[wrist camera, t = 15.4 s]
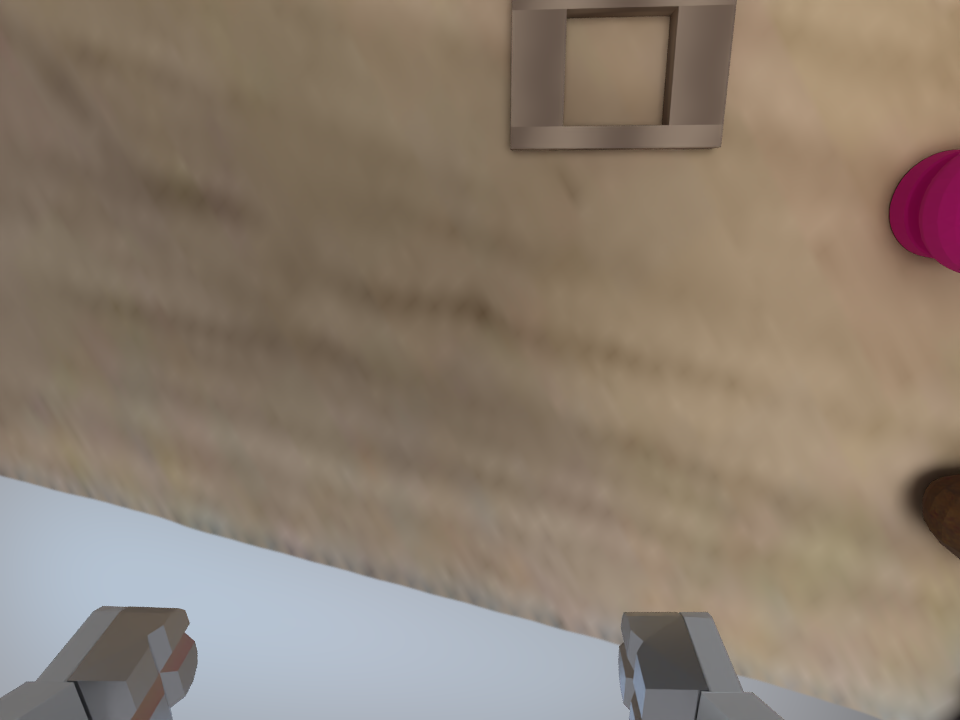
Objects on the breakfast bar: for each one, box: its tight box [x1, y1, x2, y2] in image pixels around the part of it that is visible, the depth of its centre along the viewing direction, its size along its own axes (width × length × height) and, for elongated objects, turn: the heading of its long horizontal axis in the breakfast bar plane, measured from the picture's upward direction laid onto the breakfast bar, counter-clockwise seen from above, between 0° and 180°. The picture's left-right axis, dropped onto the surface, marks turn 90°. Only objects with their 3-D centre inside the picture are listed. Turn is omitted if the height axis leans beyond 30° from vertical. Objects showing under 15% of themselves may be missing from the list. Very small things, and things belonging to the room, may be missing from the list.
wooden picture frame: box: [511, 0, 737, 150], centre depth 34 cm, size 12×8×2 cm
